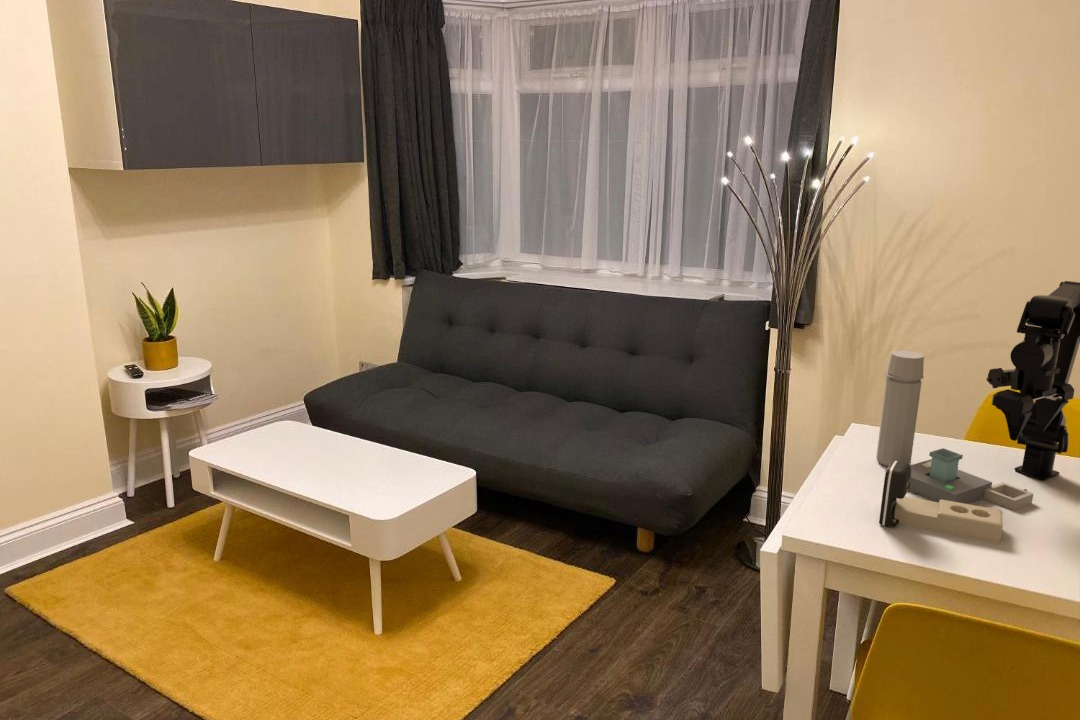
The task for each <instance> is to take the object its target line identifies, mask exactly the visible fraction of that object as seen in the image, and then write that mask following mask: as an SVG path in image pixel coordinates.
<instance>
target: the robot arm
mask: <svg viewBox="0 0 1080 720" xmlns="http://www.w3.org/2000/svg"><path fill="white" fill-rule="evenodd" d="M1016 328H1017V329H1016V333H1018V334H1024V339H1023V341H1020V342H1019V343H1018V344H1016V345H1014V347H1013V348H1012V350H1011V351H1010V361H1011V363H1012V365H1013V366H1014V367H1015V368H1013V369H1003V368H1002V367H998V368H997V367H996V368H991V369H989V370H988V373H987V377H986V382H987V383H988V384H989V385H990V386H991V387H992V389H998V388H1002V387H1010V389H1004V390H999V391H997V392H995V394H993V395H992V400H991V406H993V407H994V406H995V409H997V410H1000V411H1001V412H1002V413H1003V415H1004V417H1005V421H1006V424H1007V425H1006V426H1007V430H1008V435H1009V438H1010V440H1011V441H1015V442H1016V441H1017V442H1016V444H1018V445H1023V446H1025V447H1024V453H1023V458H1022V459H1023V460H1022V464H1021V465H1019V466H1017V467H1014V471H1015V472H1019V473H1021V474H1024V475H1027V476H1029V477H1033V478H1035V479H1037V480H1038V479H1039V480H1040V481H1045V480H1049V479H1051V478H1054V477H1057V476H1059V475H1060V472H1059V471H1057V470H1054V465H1055V459H1056V453H1057V454H1062V453H1068V449H1069V444H1070V443H1069V441H1070V440H1069V439H1070V438H1069V437H1070V436H1069V432H1068V426H1067V425H1066V423H1067V418H1066V416H1065V413H1064V411H1063V408H1064V407H1066V405H1068V403H1069V400H1073V399H1074V394H1075V388H1074V387H1073V386H1072V384H1070V383H1069V381H1070V378H1071V374H1072V371H1073V368H1074V364H1075V360H1076V356H1077V353H1078V351H1079V347H1080V282H1078V281H1070V280H1065V281H1061V282H1060V283H1059V286H1058V287H1056V289H1055V290H1053V291H1052V292H1051V293H1049V295H1048V294H1047V295H1044V294H1043V295H1039V294H1037V295H1034V296H1032V297H1031V298H1030V300H1029V301H1028V300H1027V302H1026V303H1025V306H1024V308H1023V311H1022V315H1021V317H1020V320H1019V323H1018V326H1017V327H1016Z"/></svg>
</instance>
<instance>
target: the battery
mask: <svg viewBox="0 0 1080 720" xmlns="http://www.w3.org/2000/svg"><path fill="white" fill-rule="evenodd" d="M910 479H911V467H910V464H909V465H908V464H906V463H901V462H898V461H892V462H891V463H890V464H889V466H887V468H886V471H885V473H884V480H883V481H884V482H883V488H882V496H881V504H880V505H881V506H880V512H879V519H878V520H879V521H878V524H879V525H881V526H882V527H885V526H886V527H891V528H895V527H897V526H898V525H899V524H898V523H899V520H898V518H897V517H895V516H894V513H895V507H896V503H897V499H903V498H904V497H906V495H907V493H908V491H909V490H908V489H909V487H910Z"/></svg>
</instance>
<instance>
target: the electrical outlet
mask: <svg viewBox="0 0 1080 720" xmlns="http://www.w3.org/2000/svg"><path fill="white" fill-rule="evenodd" d="M894 516H895V517H897V518H898V520H899V523H898V525H903V526H908V527H913V528H918V529H923V530H929V531H933V532H939V533H944V534H949V535H952V536H953V535H954V536H960V537H965V538H970V539H975V540H979V541H983V542H989V543H994V544H1000V543H1001V538H1002V532H1003V511H1002V510H1001V509H998V508H991V507H986V506H980V505H977V504H975V505H974V504H971V503H969V504H965V503H959V502H954V501H948V500H942V499H941V500H939V503H938V502H935V501H933V500H926V499H921V498H917V497H916V498H915V497H911V496H905V497H904V498H903V499H898V498H897V503H896V507H895V513H894Z"/></svg>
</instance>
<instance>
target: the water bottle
mask: <svg viewBox="0 0 1080 720" xmlns="http://www.w3.org/2000/svg"><path fill="white" fill-rule="evenodd" d="M924 358H925V356H924V355H923V354H922V353H920V352H918V351H912V350H902V349H901V350H893V351H891V353H890V356H889V360H888V365H887V368H886V369H887V370H886V372H884V373H883V375H884V377H885V386H884V391H883V392H884V393H883V399H882V400H883V402H882V409H881V416H880V417H881V418H880V424H879V432H878V433H879V434H878V441H877V450H876V455H875V457H876V460H877V462H878V463H879V464H881V465H883V466H884V465H885V466H886V467H888V466H889V464H890V463H891V462H892V461H898V462H901V463H906V464H908V465H909V466H910V464H911V463H912V456H913V448H914V440H915V433H916V427H917V426H916V425H917V419H918V412H919V411H918V410H919V403H920V396H921V389H922V379H924V367H925V366H924V364H925V363H924V360H925V359H924Z"/></svg>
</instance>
